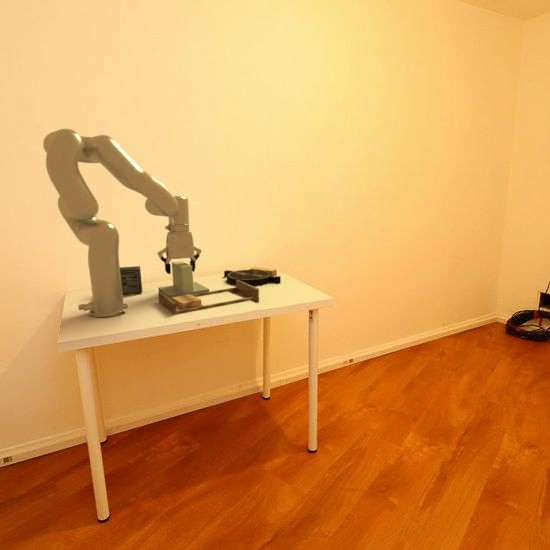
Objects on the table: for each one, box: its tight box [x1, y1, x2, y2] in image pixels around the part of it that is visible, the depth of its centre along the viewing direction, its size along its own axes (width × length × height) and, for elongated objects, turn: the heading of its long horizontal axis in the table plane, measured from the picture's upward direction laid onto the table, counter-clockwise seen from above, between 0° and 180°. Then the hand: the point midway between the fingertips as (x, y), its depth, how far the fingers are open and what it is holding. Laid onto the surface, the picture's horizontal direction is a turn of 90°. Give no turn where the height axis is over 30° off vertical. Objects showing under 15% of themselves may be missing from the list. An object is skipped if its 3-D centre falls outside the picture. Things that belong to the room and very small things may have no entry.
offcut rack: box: [157, 280, 260, 316], centre depth 141 cm, size 32×16×5 cm, turn 123°
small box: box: [120, 265, 143, 296], centre depth 155 cm, size 11×6×10 cm, turn 104°
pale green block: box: [171, 260, 194, 293], centre depth 152 cm, size 4×12×10 cm, turn 33°
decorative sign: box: [223, 266, 282, 287], centre depth 177 cm, size 29×3×25 cm
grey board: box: [157, 281, 210, 298], centre depth 153 cm, size 16×14×2 cm
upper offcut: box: [172, 294, 203, 309], centre depth 136 cm, size 7×9×2 cm
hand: (180, 272), depth 151 cm, fingers open, 9 cm apart
